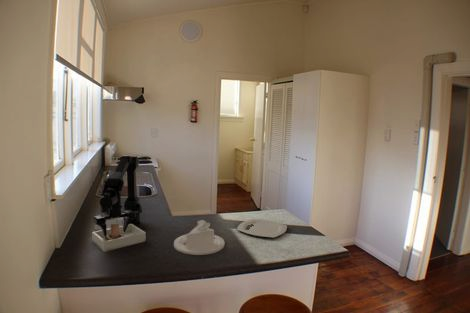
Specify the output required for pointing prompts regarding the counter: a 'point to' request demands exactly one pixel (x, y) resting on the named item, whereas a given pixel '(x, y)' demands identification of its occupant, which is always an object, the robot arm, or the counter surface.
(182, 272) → the counter surface
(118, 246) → the tray
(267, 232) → the plate
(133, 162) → the robot arm
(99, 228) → the syrup box
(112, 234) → the peg
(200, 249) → the dish
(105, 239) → the socket
